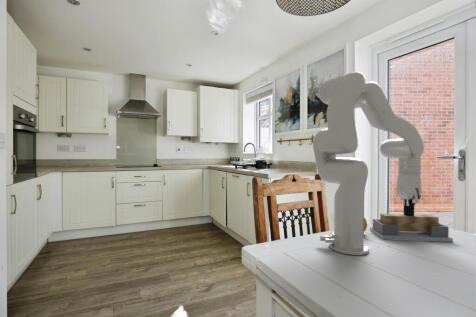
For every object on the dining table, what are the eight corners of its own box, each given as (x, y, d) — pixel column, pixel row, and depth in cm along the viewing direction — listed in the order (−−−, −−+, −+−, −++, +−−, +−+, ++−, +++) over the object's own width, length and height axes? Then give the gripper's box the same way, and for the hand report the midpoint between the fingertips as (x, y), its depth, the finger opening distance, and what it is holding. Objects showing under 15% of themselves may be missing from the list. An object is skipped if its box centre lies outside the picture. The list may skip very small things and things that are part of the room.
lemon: (367, 233, 105) (367, 214, 105) (366, 236, 101) (366, 216, 100) (353, 230, 108) (353, 212, 108) (351, 234, 104) (351, 215, 103)
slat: (384, 230, 101) (384, 215, 101) (380, 227, 105) (380, 213, 105) (438, 232, 99) (438, 217, 99) (431, 229, 103) (431, 215, 103)
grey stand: (382, 239, 98) (382, 225, 98) (369, 229, 110) (370, 218, 110) (452, 241, 95) (452, 228, 95) (431, 232, 107) (432, 219, 107)
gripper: (390, 169, 110) (390, 211, 110) (409, 171, 95) (409, 220, 95) (408, 169, 109) (408, 211, 109) (431, 171, 94) (430, 220, 94)
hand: (408, 215), depth 102 cm, fingers closed
